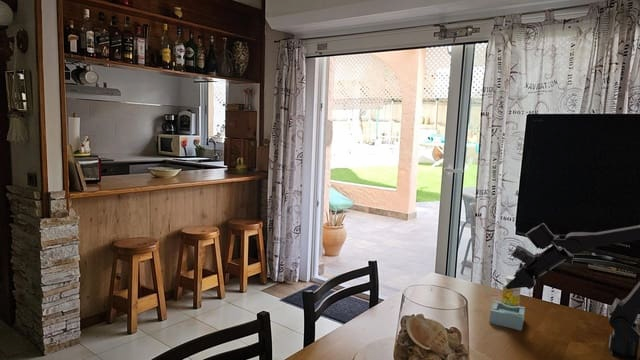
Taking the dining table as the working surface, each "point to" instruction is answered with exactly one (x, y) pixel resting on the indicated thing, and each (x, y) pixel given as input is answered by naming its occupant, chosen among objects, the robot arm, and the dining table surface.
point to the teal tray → (507, 316)
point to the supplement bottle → (510, 295)
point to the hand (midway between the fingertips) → (507, 285)
